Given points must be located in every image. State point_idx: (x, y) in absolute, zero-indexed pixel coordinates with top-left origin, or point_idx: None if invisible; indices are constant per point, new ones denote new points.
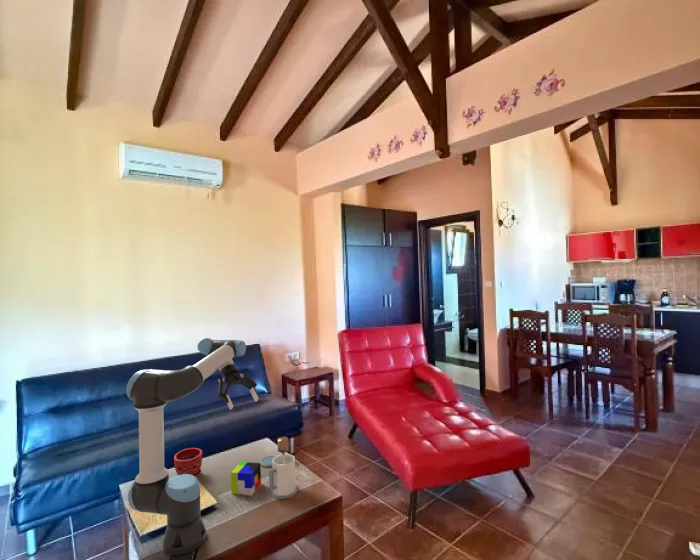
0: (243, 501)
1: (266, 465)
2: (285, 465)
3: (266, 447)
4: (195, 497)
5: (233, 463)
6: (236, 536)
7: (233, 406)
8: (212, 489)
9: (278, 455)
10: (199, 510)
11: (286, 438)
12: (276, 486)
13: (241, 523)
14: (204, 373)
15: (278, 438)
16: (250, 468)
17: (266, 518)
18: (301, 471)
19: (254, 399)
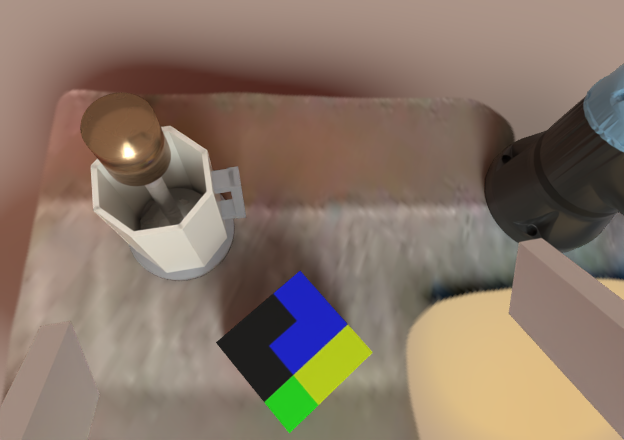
0: (334, 273)
1: None
2: (176, 130)
3: None
4: (604, 78)
5: None
6: (411, 123)
7: (519, 246)
8: None
9: (147, 234)
10: (551, 129)
11: (94, 118)
12: (221, 201)
13: (381, 165)
14: None
15: (133, 152)
16: (280, 323)
17: (308, 137)
18: (33, 321)
19: (86, 424)
